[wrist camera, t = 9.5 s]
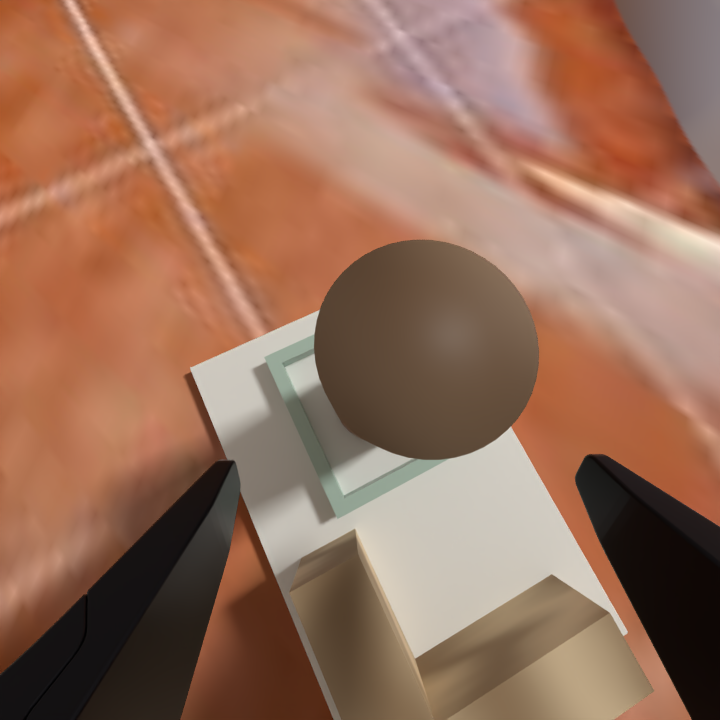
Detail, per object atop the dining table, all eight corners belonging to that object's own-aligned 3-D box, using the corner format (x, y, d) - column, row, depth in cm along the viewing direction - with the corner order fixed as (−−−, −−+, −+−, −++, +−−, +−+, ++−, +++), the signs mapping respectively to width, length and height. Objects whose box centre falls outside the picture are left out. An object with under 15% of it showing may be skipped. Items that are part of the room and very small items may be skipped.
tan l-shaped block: (388, 762, 16) (402, 868, 12) (301, 557, 18) (289, 592, 14) (584, 633, 17) (654, 690, 13) (487, 456, 19) (524, 461, 15)
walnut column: (379, 459, 19) (444, 513, 6) (316, 402, 19) (265, 350, 7) (433, 395, 20) (582, 335, 7) (371, 341, 20) (413, 200, 8)
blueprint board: (368, 792, 16) (370, 830, 15) (194, 370, 20) (181, 364, 18) (618, 626, 18) (644, 644, 16) (417, 270, 22) (422, 257, 20)
